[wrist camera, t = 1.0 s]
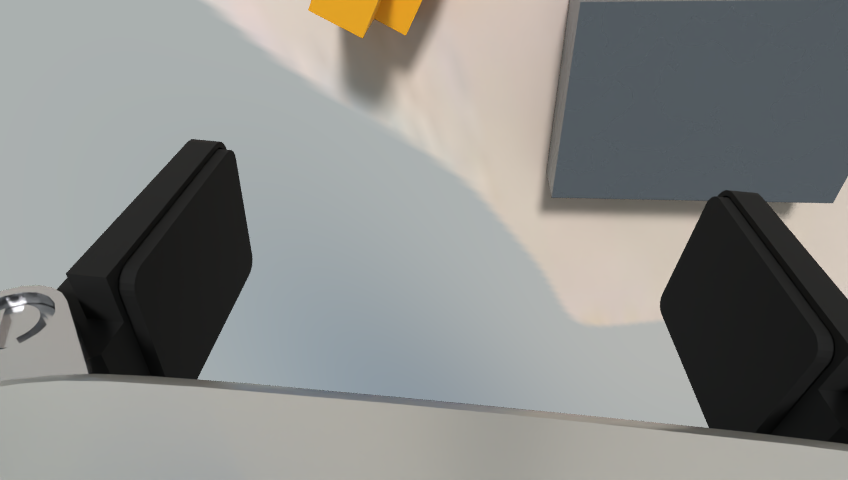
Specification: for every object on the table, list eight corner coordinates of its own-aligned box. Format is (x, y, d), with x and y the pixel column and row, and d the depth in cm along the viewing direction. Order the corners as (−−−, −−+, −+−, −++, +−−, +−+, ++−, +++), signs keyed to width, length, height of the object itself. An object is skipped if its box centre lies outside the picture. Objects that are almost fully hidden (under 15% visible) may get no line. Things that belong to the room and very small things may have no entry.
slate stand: (901, -17, 26) (944, -2, 23) (806, 176, 32) (833, 203, 30) (571, -13, 27) (580, 1, 25) (546, 172, 34) (551, 197, 31)
